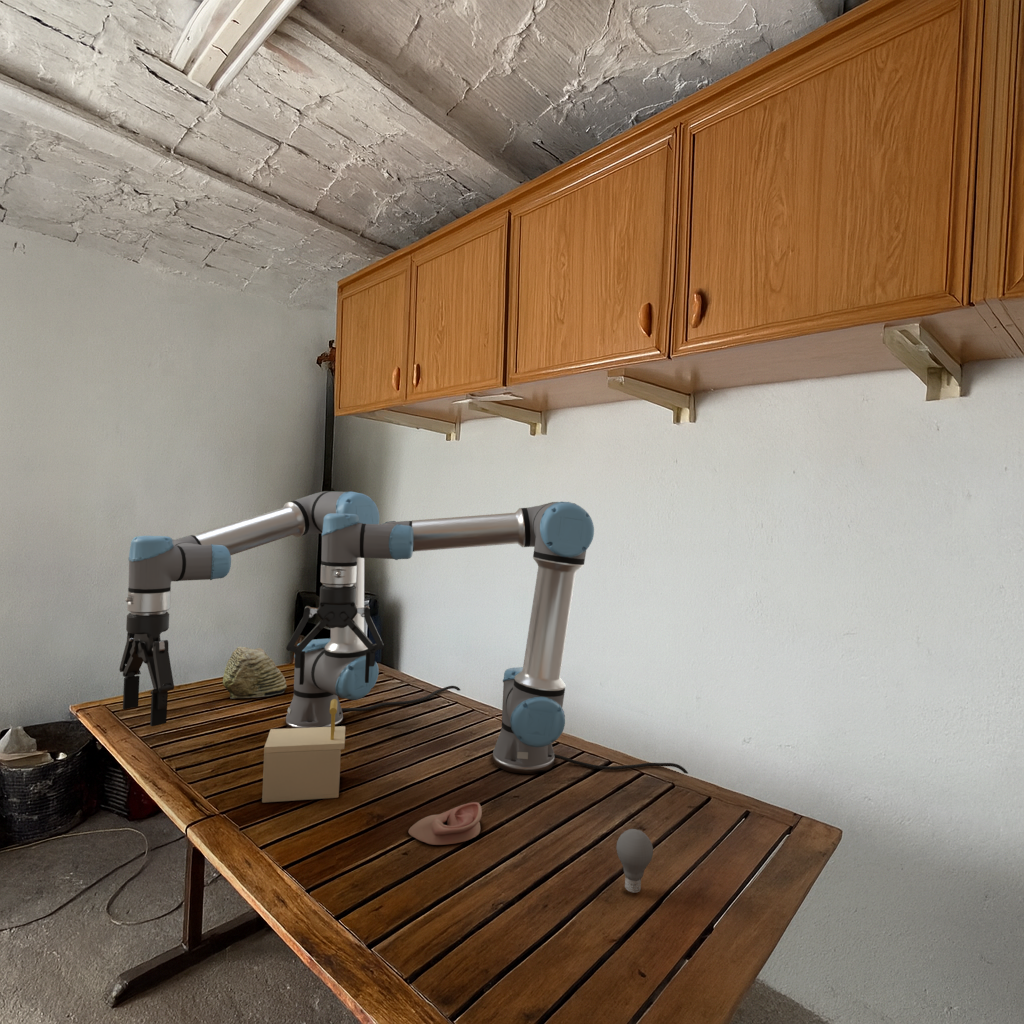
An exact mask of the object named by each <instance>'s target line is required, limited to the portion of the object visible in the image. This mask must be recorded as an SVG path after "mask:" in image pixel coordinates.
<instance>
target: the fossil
mask: <svg viewBox="0 0 1024 1024" xmlns="http://www.w3.org/2000/svg"><path fill="white" fill-rule="evenodd" d="M222 676H223V677H222V685H223V687H224V688H225V690H226V691H228V693H229V698H230V699H250V698H264V697H271V696H275V695H281V694H284V693H285V691H286V689H287V687H288V686H287V680H286V678H285V676H284V674H283V673H282V672H281V669H279V668H278V667H277V665H276V663H275V662H274V660H273V659H272V658H271V657H270V656H269V655H268V654H267V653H266V652H265V650H264V649H263V648H260V647H258V648H251V647H247V646H246V647H245V646H238V647H237V648H236V649H235V650H233V651H232V653H231V656H230V657H229V659H228V660H227V663H226V666H225V668H224V671H223V675H222Z"/></svg>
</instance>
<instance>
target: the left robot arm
mask: <svg viewBox="0 0 1024 1024" xmlns="http://www.w3.org/2000/svg"><path fill="white" fill-rule="evenodd" d="M330 513H342V514H356V515H358V517H359V523H363V524H380V512H379V509H378V505H377V504H376V502H375V501H374V500H373V499H372V498H371V497H370V496H369V495H368V494H364V493H362V492H356V491H332V490H323V491H319V492H315V493H313V494H309V495H306V496H303V497H300V498H297V499H294V500H291V501H287V502H285V503H284V504H283V507H281V508H277V509H274V510H271V511H267V512H264V513H260V514H257V515H253V516H251V517H247V518H244V519H241V520H237V521H233V522H230V523H226V524H224V525H219V526H216V527H213V528H210V529H207V530H206V529H205V530H202V531H200V532H196V533H193V534H190V535H186V536H183V537H180V538H176V539H173V538H172V537H170V536H166V535H137V536H135V537H133V538H132V539H131V541H130V547H129V554H128V588H127V597H125V602H126V603H127V609H126V610H127V612H129V613H128V614H127V615H126V624H125V625H126V628H125V630H126V632H127V633H126V642H125V646H124V650H123V654H122V657H121V661H120V665H119V669H118V670H119V672H120V673H122V676H123V690H122V691H123V692H122V693H123V695H122V710H125V711H126V710H130V709H135V708H138V707H139V696H140V675H141V674H142V672H141V670H140V669H141V667H142V665H143V663H144V664H146V665H147V669H148V673H149V676H150V677H149V678H150V681H151V684H152V689H151V691H150V692H149V693H150V695H151V697H150V700H151V701H150V720H149V722H150V723H149V726H150V727H155V726H160V725H164V724H165V725H166V724H167V721H168V720H167V719H168V697H169V692H170V691H173V690H174V689H175V684H174V678H173V671H172V665H171V660H170V653H169V640H168V639H163V640H161V634H162V633H165V632H166V631H168V629H169V628H170V613H169V612H168V611H169V610H170V609H171V592H172V591H171V590H172V589H171V587H172V586H171V585H172V582H182V581H207V580H209V581H213V580H216V579H217V580H218V579H224V578H226V577H227V576H228V575H229V573H230V571H231V567H232V557H231V556H234V555H236V554H240V553H242V552H245V551H249V550H251V549H254V548H257V547H261V546H263V545H266V544H267V545H268V544H270V543H272V542H275V541H278V540H282V539H285V538H287V537H290V536H293V537H296V538H300V537H303V536H306V535H313V534H321V535H322V532H323V521H324V517H325V516H326V515H327V514H330ZM353 585H355V587H356V603H355V605H356V607H357V608H362V607H365V558H357V577H356V583H355V584H353ZM353 620H354V621H355V623H356V624H357V625H358V627H359V628H360V629H361V630H362V631H363V633H364V634H365V617H361V615H360V614H359V613H357V615H356V616H355V617H354V618H353ZM300 643H301V642H299V643H297V645H299V644H300ZM366 650H369V649H368V648H367V647H366V646H365V645H364V644H363V642H362V641H361V640H360V639H359V638H358V636H357V635H356V634H355V633H354V632H353V631H352V630H351V629H350V627H349V626H347V627H344V628H338V627H335V628H330V638H317V639H312V641H311V642H310V643H309V644H308V645H307V646H306V647H305V648H304V649H303V650H302V651H305V671H304V683H303V685H300V668H295V667H294V672H293V673H294V674H293V695H292V696H293V697H292V699H291V702H290V704H289V706H288V708H287V710H286V711H287V713H286V715H285V726H286V728H287V729H289V728H313V727H331V714H330V703H331V700H333V699H336V700H337V701H338V705H337V713H336V714H335V727H338V726H340V725H342V723H343V722H344V714H343V712H366V711H371V710H374V709H377V708H380V707H385V706H400V705H410V704H414V703H420V702H423V701H426V700H428V699H431V698H432V697H433V696H435V695H436V694H439V693H443V692H445V691H448V690H450V689H452V690H456V691H458V692H460V691H461V688H460V687H458V686H456V685H448V686H445V687H443V688H439V689H436V690H434V691H432V692H431V693H430V694H428V695H426V696H422V697H420V698H416V699H411V700H402V701H386V702H381V703H376V704H374V705H370V706H367V707H342V706H341V702H340V699H339V698H341V699H342V700H343V699H344V700H348V701H349V700H350V701H357V700H360V699H362V698H364V697H365V696H367V695H368V694H370V692H371V690H372V689H373V688H374V687H375V685H376V683H377V681H378V678H379V674H380V673H379V671H380V670H379V669H380V668H379V665H378V663H377V661H375V665H374V666H371V667H369V683H365V664H366ZM293 657H294V659H295V655H293Z"/></svg>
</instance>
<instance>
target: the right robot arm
mask: <svg viewBox="0 0 1024 1024" xmlns="http://www.w3.org/2000/svg"><path fill="white" fill-rule="evenodd" d="M594 535H595V526H594V522H593V519H592V517H591V516H590V514H589V513H588V512H587V510H586V509H584V507H582V506H580V505H579V504H576V503H574V502H571V501H552V502H548V503H543V504H540V505H534V506H531V507H530V506H529V507H519V508H518V509H517V510H516V511H515V512H506V513H494V514H493V513H491V514H479V515H478V514H477V515H467V516H454V517H441V518H428V519H414V520H413V519H412V520H402V521H401V520H400V521H395V520H391V521H386V522H384V523H379V524H363V523H359V517H358V515H356V514H342V513H330V514H327V515H326V516H325V517H324V521H323V532H322V534H321V562H320V583H321V584H322V585H321V586H320V587H319V605H318V607H311V606H310V605H306V606H305V607H304V610H303V615H302V618H301V620H300V621H299V623H298V625H297V627H296V628H295V631H294V632H293V633H292V636H291V638H290V640H289V641H288V643H287V645H286V647H285V649H286V651H288V652H292V653H294V656H295V658H294V669H295V668H300V685H303V683H304V671H305V651H302V650H303V649H304V648H305V647H306V646H307V645H308V644H309V643H310V642H311V641H312V640H314V638H315V637H316V636H317V635H318V634H319V633H320V632H321V631H322V630H323V629H324V628H325V627H326V628H329V629H331V628H335V627H338V628H344V627H347V626H349V627H350V629H351V630H352V631H353V632H354V633H355V634H356V635H357V636H358V638H359V639H360V640H361V641H362V642H363V644H364V645H365V646H366V647H367V648H368V649H369V650H366V664H365V683H369V667H371V666H374V665H375V662H376V653H377V651H381V650H383V649H384V648H385V645H384V642H383V640H382V638H381V636H380V633H379V632H378V629H377V627H376V624H375V623H374V621H373V619H372V616H371V610H370V609H371V608H370V606H369V605H364V607H362V608H357V607H356V605H355V603H356V587H355V585H353V584H355V583H356V577H357V558H364V559H380V560H381V559H382V560H384V559H386V560H395V561H398V560H409V559H411V558H412V557H413V554H414V552H426V551H438V550H439V551H440V550H441V551H442V550H451V549H452V550H454V549H465V548H480V547H491V546H493V547H494V546H504V545H505V546H506V545H519V546H520V547H521V548H533V555H532V559H533V560H534V562H535V563H536V564H537V572H536V580H535V586H534V593H533V599H532V606H531V612H530V618H529V625H528V632H527V638H526V645H525V652H524V659H523V665H522V666H515V667H508V668H507V669H506V670H504V672H503V679H502V683H503V687H502V688H503V689H502V708H501V709H502V710H501V728H500V732H499V734H498V737H497V740H496V743H495V745H494V748H493V751H492V762H493V764H494V765H495V766H496V767H497V768H499V769H501V770H504V771H506V772H510V773H514V774H521V775H534V774H540V773H545V772H547V771H549V770H551V769H552V768H553V767H554V766H555V760H556V759H559V760H562V761H565V762H568V763H571V764H574V765H578V766H582V767H586V768H589V769H596V770H603V771H604V770H605V771H606V770H607V771H617V770H630V769H639V768H646V767H672V768H676V769H679V770H680V771H681V772H683V773H684V774H687V775H688V774H689V772H688V770H687V769H686V768H685V767H683V766H682V765H680V764H678V763H673V762H642V763H636V764H625V765H614V766H613V765H611V766H610V765H598V764H592V763H587V762H583V761H579V760H576V759H571V758H569V757H567V756H563V755H559V754H556V753H555V751H554V747H553V743H554V742H556V741H557V740H558V739H559V738H560V737H561V735H562V734H563V732H564V729H565V725H566V715H565V711H564V708H563V705H564V700H565V693H566V683H565V682H564V680H563V679H562V678H561V673H562V668H563V667H562V666H563V660H564V655H565V647H566V641H567V634H568V628H569V627H568V626H569V620H570V614H571V608H572V603H573V596H574V595H573V594H574V589H575V581H576V575H577V572H578V571H579V570H581V569H582V568H583V567H584V566H585V561H586V555H587V550H588V549H589V547H590V545H591V544H592V543H593V541H594ZM357 613H359V614H360V615H361V617H364V622H365V623H366V625H367V627H368V629H369V631H370V633H371V635H372V639H374V643H373V642H372V640H371V639H370V638H369V636H367V635H366V633H365V632H364V633H363V631H362V630H361V629H360V628H359V627H358V625H357V624H356V623H355V621H354V620H353V618H354V617H355V616H356V615H357ZM315 614H316V615H317V616H318V618H319V619H320V620H319V621H318V623H316V625H315V626H314V627H313V628H312V630H311V631H310V632H309V633H308V634H307V635H306V636H305V637H304V638H303V639H302V640H301V641H300V642H299V643H300V644H299V643H298V644H299V645H298V644H296V643H297V642H298V639H299V638H300V636H301V634H302V633H303V630H304V628H305V627H306V625H307V623H308V621H309V619H311V618H314V615H315Z"/></svg>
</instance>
